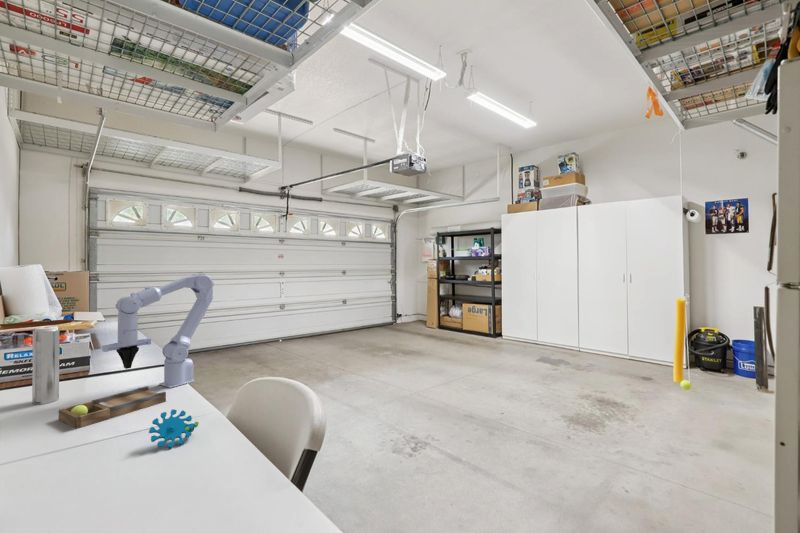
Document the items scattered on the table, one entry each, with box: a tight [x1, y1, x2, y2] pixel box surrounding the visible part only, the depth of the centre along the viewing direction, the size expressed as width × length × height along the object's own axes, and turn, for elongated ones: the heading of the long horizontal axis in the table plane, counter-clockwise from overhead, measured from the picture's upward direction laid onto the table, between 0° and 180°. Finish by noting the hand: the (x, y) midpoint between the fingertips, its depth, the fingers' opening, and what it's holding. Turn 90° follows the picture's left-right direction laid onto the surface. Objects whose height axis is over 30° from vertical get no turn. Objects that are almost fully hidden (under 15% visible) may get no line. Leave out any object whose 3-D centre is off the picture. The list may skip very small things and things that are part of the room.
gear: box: [148, 409, 200, 449], centre depth 96 cm, size 11×6×10 cm
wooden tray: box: [58, 385, 167, 430], centre depth 115 cm, size 24×12×3 cm, turn 151°
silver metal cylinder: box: [31, 325, 60, 406], centre depth 122 cm, size 6×6×25 cm
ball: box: [71, 404, 88, 416], centre depth 108 cm, size 4×4×4 cm
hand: (127, 367), depth 130 cm, fingers closed
